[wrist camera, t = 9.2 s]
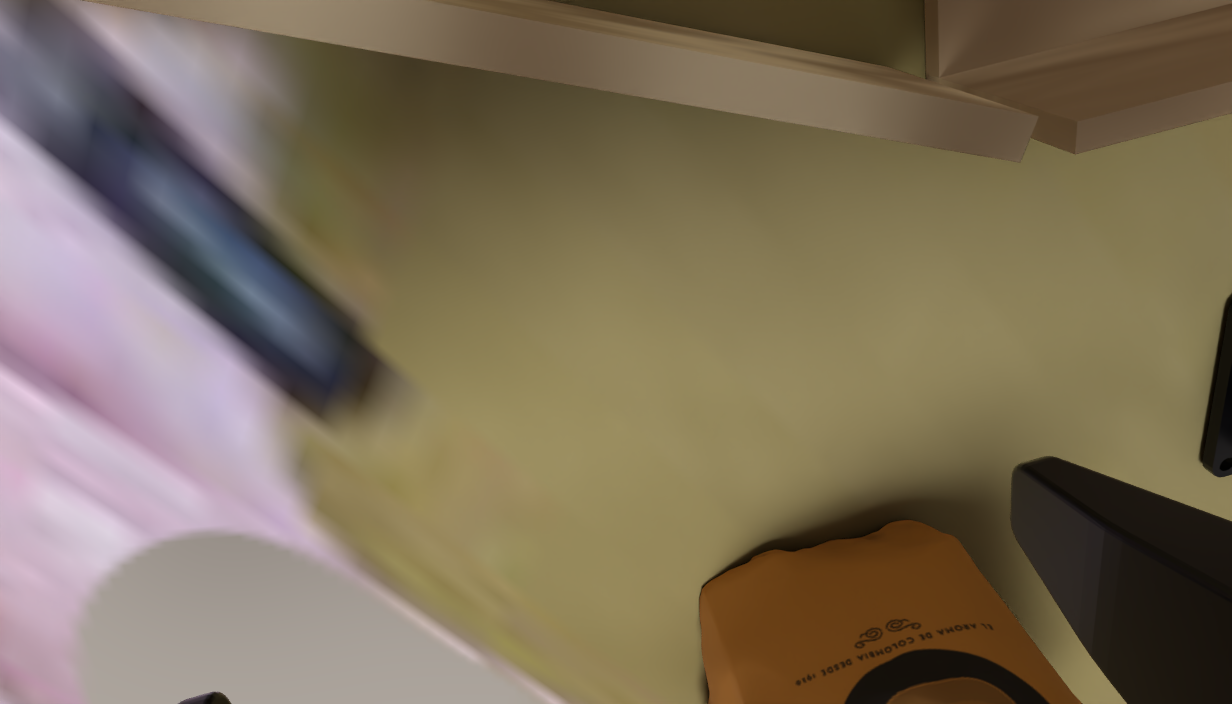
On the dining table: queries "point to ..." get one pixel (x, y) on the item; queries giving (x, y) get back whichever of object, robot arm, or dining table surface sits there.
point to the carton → (1087, 63)
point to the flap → (640, 63)
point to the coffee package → (869, 628)
